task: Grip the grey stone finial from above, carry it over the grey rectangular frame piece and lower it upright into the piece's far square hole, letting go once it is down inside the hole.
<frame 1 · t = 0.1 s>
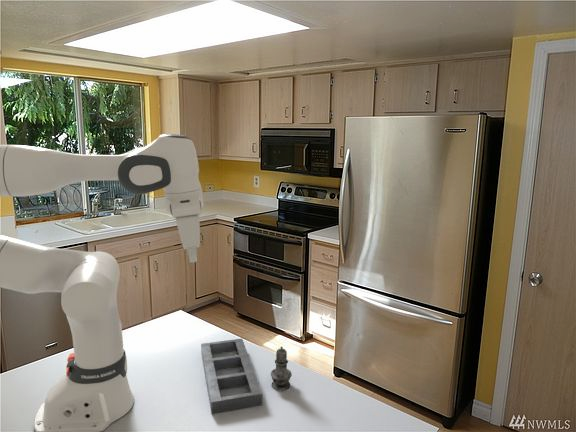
hand: (192, 255, 105), 39 cm above the countertop, tool pointing down, fingers open, 8 cm apart
grey rectangular frame piece: (228, 377, 120), on the countertop
grey stone finial: (280, 385, 117), on the countertop
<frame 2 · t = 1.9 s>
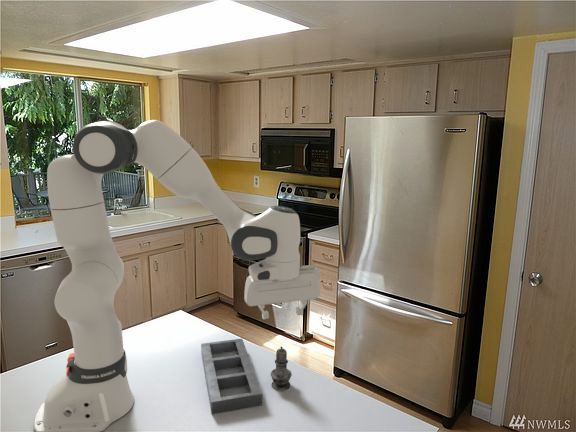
hand: (282, 316, 112), 21 cm above the countertop, tool pointing down, fingers open, 8 cm apart
nothing on the countertop moved.
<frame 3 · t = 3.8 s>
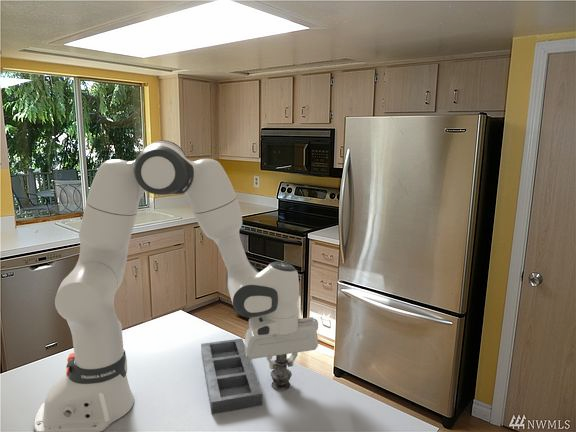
hand: (281, 366, 116), 6 cm above the countertop, tool pointing down, fingers closed on grey stone finial, 4 cm apart
grey stone finial: (280, 385, 117), on the countertop, touching gripper
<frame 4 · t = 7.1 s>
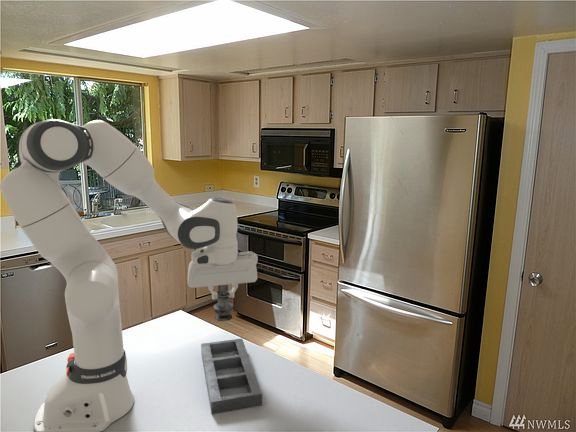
hand: (223, 297, 124), 20 cm above the countertop, tool pointing down, fingers closed on grey stone finial, 4 cm apart
grey stone finial: (223, 317, 126), point 14 cm above the countertop, touching gripper
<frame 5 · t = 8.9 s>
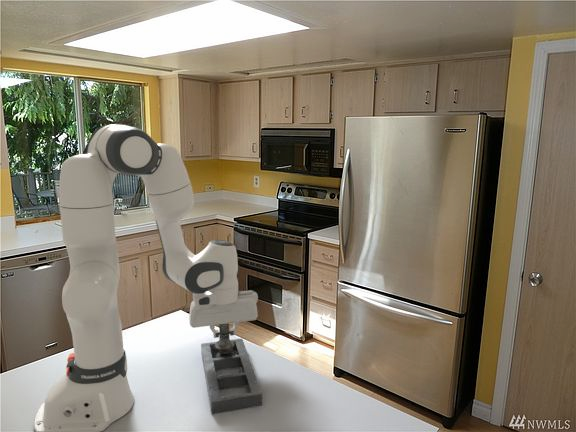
hand: (224, 335, 127), 8 cm above the countertop, tool pointing down, fingers closed on grey stone finial, 4 cm apart
grey stone finial: (224, 355, 129), point 1 cm above the countertop, touching gripper
when the fingers open (7 cm above the countertop, at t = 10.2 s): grey stone finial stays where it is, resting in grey rectangular frame piece.
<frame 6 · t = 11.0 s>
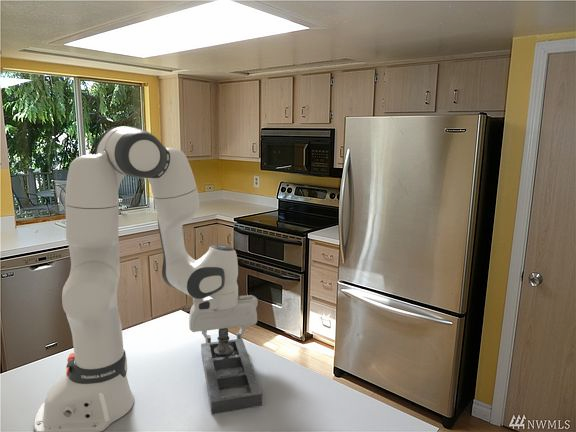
hand: (223, 340, 127), 7 cm above the countertop, tool pointing down, fingers open, 8 cm apart
grey stone finial: (223, 360, 129), resting in grey rectangular frame piece
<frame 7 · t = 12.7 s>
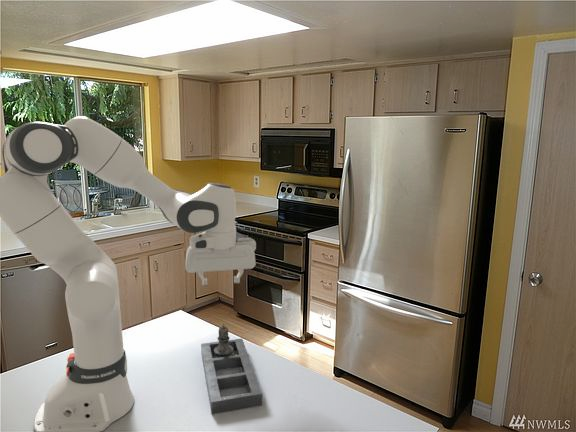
hand: (220, 283, 124), 25 cm above the countertop, tool pointing down, fingers open, 8 cm apart
nothing on the countertop moved.
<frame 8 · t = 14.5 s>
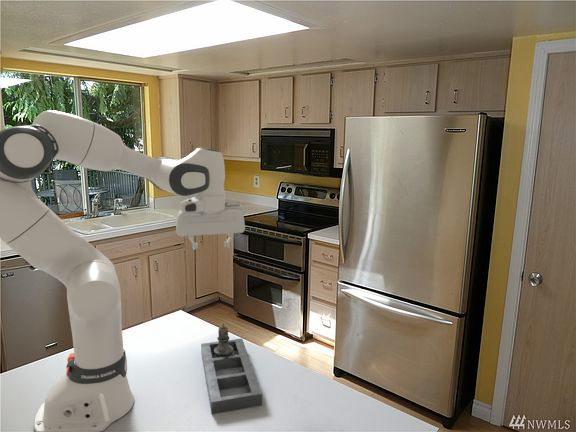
hand: (211, 248, 126), 34 cm above the countertop, tool pointing down, fingers open, 8 cm apart
nothing on the countertop moved.
at the end: grey stone finial 0.1 cm from the target spot on the grey rectangular frame piece, point 0.0 cm above the grey rectangular frame piece's base; grey stone finial tilted 0°; the gripper is holding nothing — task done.
